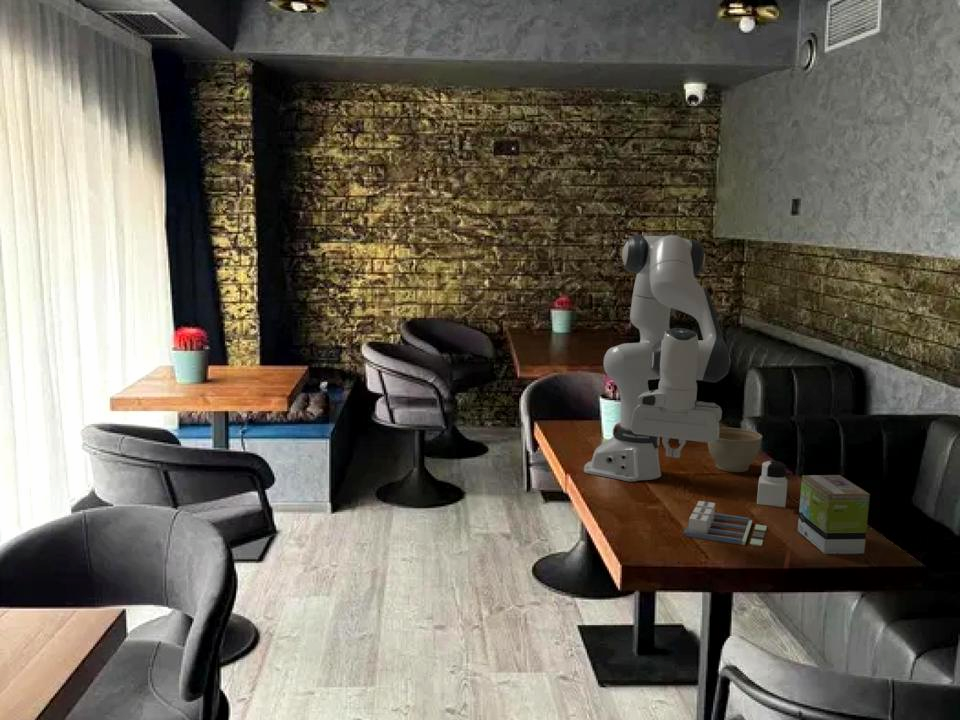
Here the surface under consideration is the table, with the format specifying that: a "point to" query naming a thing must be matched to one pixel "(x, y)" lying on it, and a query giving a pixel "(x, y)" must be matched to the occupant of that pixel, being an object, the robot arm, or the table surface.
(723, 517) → the switch bank
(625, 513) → the table surface
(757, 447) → the planter bowl
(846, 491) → the tea box
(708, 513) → the white slotted cube
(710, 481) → the table surface
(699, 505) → the tab
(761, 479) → the medicine bottle
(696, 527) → the tab
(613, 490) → the table surface
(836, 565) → the table surface
